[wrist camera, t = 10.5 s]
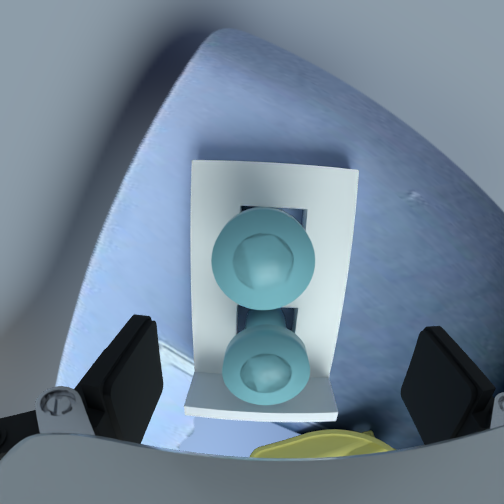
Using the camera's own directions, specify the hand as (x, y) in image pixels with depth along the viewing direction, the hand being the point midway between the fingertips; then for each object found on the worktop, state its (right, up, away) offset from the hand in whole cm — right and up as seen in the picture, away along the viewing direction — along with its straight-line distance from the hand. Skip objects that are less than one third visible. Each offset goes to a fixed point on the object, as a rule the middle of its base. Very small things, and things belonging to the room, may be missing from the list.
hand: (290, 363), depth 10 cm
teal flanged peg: (0, -3, +22) cm, 22 cm away
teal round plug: (0, +5, +19) cm, 20 cm away
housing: (0, +1, +20) cm, 20 cm away
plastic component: (+9, -25, +28) cm, 38 cm away
